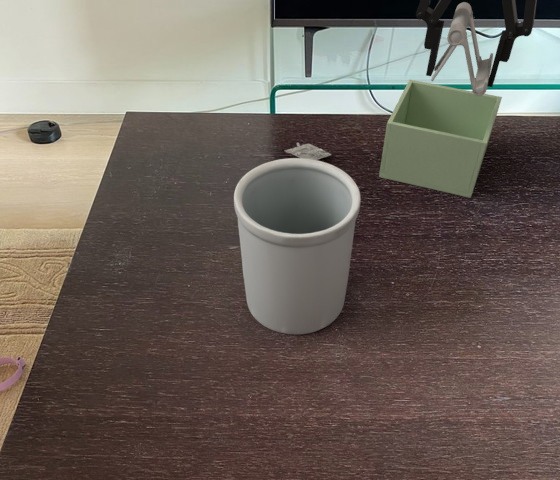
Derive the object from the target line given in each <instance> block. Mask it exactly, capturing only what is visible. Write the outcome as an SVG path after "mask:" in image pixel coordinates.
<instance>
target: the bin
mask: <svg viewBox="0 0 560 480" xmlns="http://www.w3.org/2000/svg"><path fill="white" fill-rule="evenodd" d="M502 98H503V97H502V96H500V95H493V94H488V93H485V94H483V95H481V96H476V95H475V94H474V93H473V91H472V90H468V89H462V88H456V87H451V86H446V85H440V84H435V83H431V82H426V81H425V82H424V81H421V80H413V79H409V80H408V82H407V83H406V86H405V87H404V89H403V91H402V94H401V95H400V97H399V99H398V101H397V103H396V105H395V107H394V109H393V110H392V113H391V115H390V116H389V119H388V120H387V122H386V126H385V127H386V128H385V134H384V141H383V148H382V153H381V160H380V161H381V162H380V167H379V173H378V178H382V179H385V180H390V181H395V182H399V183H403V184H408V185H411V186H412V185H413V186H415V187H420V188H425V189H429V190H434V191H438V192H442V193H446V194H447V193H448V194H451V195H456V196H460V197H465V198H469V199H471V198H472V196H473V193H474V190H475V186H476V183H477V180H478V177H479V174H480V171H481V167H482V164H483V162H484V159H485V155H486V152H487V149H488V147H489V146H488V145H489V142H490V139H491V137H492V136H491V135H492V132H493V129H494V126H495V121H496V119H497V117H498V116H497V115H498V112H499V109H500V105H501V102H502Z"/></svg>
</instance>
